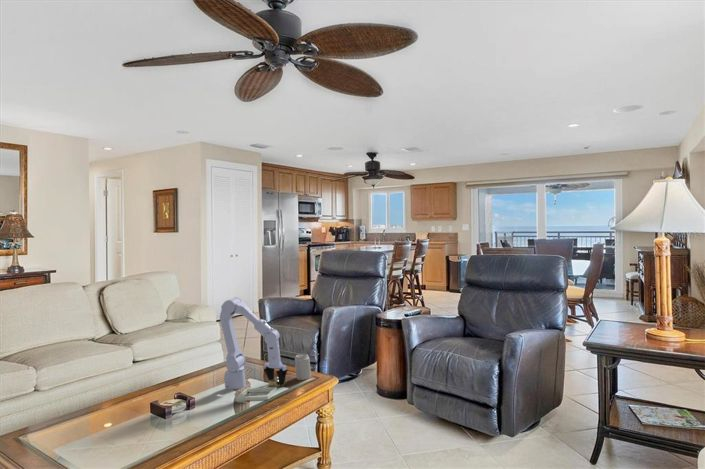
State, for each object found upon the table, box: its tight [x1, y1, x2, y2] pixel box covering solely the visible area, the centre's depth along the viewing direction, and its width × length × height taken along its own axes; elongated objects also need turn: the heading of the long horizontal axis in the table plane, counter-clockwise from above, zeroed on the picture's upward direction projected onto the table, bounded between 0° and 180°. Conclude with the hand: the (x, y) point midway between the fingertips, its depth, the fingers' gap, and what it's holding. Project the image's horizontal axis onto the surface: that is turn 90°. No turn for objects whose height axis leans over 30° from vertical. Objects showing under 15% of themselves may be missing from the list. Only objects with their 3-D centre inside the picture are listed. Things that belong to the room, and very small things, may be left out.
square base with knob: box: [266, 376, 288, 389], centre depth 207 cm, size 8×8×4 cm
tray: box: [235, 387, 278, 403], centre depth 195 cm, size 15×11×2 cm
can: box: [294, 353, 312, 381], centre depth 214 cm, size 8×8×12 cm
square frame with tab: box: [268, 375, 287, 387], centre depth 208 cm, size 8×5×2 cm
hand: (276, 383), depth 207 cm, fingers open, 7 cm apart
